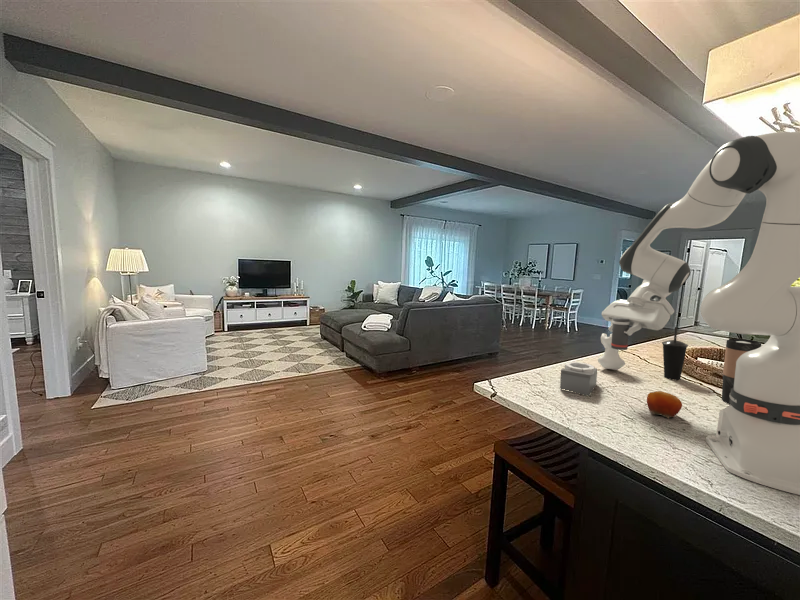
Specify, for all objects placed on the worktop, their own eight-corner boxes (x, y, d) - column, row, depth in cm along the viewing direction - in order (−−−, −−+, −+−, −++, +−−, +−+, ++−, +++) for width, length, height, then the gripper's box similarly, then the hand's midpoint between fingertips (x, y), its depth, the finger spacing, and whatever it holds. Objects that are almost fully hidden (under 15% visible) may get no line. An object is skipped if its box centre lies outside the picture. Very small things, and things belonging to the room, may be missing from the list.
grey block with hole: (588, 396, 110) (590, 373, 109) (560, 389, 116) (560, 367, 115) (596, 384, 121) (597, 363, 120) (569, 379, 126) (570, 358, 126)
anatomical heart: (596, 370, 136) (598, 335, 134) (597, 364, 145) (599, 330, 144) (624, 374, 131) (627, 338, 129) (624, 367, 140) (626, 333, 138)
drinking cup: (657, 377, 127) (661, 327, 125) (661, 373, 132) (665, 324, 130) (683, 382, 121) (687, 329, 119) (686, 378, 127) (690, 327, 124)
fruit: (642, 412, 94) (646, 385, 97) (645, 417, 100) (649, 392, 102) (679, 421, 89) (682, 392, 91) (680, 426, 94) (683, 399, 96)
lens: (626, 350, 106) (628, 320, 105) (609, 348, 109) (611, 319, 108) (628, 347, 110) (630, 318, 109) (612, 345, 113) (613, 317, 112)
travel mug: (762, 408, 99) (769, 344, 97) (732, 407, 101) (739, 343, 99) (741, 398, 107) (748, 338, 104) (714, 397, 108) (719, 337, 106)
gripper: (612, 293, 119) (588, 321, 118) (670, 298, 99) (642, 332, 98) (621, 305, 121) (598, 332, 119) (680, 312, 101) (653, 345, 100)
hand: (618, 332), depth 109 cm, fingers closed on lens, 4 cm apart
